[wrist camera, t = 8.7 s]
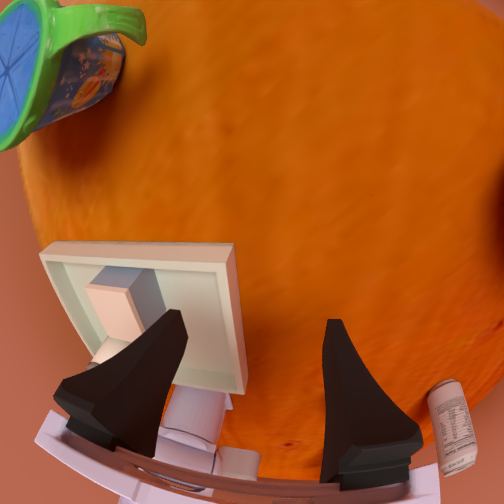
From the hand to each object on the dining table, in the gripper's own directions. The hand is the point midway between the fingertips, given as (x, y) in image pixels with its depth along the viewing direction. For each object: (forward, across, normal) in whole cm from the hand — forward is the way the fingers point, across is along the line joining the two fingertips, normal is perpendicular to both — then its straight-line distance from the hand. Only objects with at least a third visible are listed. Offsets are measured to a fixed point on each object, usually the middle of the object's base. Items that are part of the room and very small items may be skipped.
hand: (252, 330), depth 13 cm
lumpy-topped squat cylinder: (+10, +8, +60) cm, 61 cm away
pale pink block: (+9, +13, +5) cm, 17 cm away
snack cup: (+10, +14, -16) cm, 24 cm away
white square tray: (+10, +14, +10) cm, 20 cm away
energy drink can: (+10, -27, +25) cm, 38 cm away
